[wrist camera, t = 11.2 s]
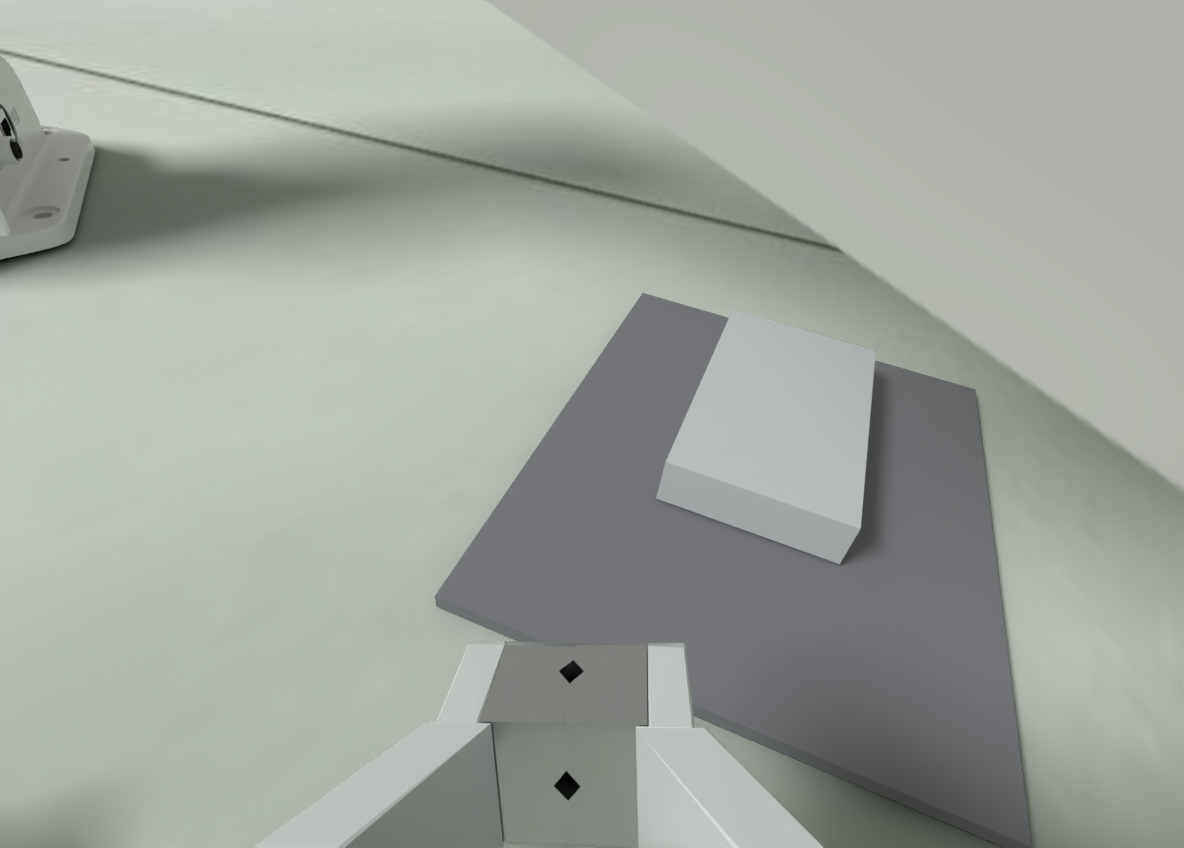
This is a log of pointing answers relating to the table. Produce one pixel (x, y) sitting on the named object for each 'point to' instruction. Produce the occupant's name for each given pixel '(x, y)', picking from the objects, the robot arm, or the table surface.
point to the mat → (775, 581)
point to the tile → (777, 437)
